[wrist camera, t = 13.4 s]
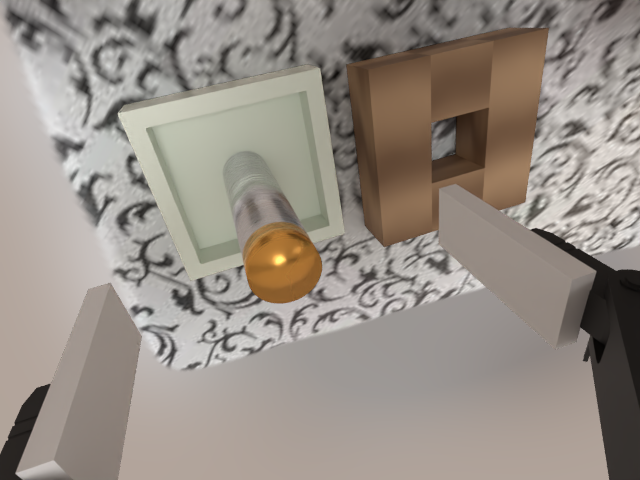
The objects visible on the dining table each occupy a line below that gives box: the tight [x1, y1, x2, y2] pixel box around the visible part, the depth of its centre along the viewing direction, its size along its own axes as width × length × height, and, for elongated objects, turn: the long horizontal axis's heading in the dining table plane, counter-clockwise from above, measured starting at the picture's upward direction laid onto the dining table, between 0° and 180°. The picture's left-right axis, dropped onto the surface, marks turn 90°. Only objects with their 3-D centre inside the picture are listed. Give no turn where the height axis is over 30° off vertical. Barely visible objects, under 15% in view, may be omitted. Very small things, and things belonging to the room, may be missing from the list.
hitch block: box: [346, 28, 549, 247], centre depth 27 cm, size 12×12×4 cm
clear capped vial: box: [223, 151, 322, 303], centre depth 20 cm, size 3×3×12 cm
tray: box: [118, 64, 345, 281], centre depth 24 cm, size 11×11×3 cm
